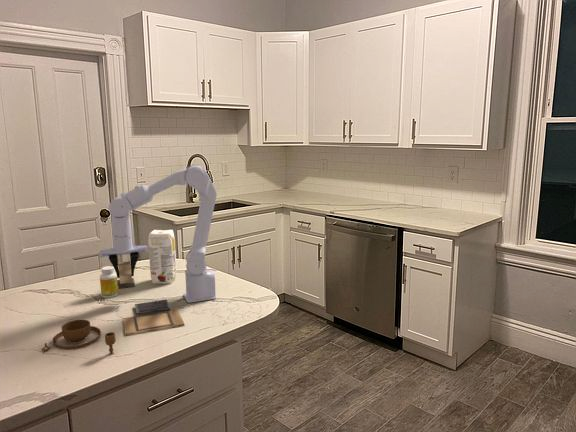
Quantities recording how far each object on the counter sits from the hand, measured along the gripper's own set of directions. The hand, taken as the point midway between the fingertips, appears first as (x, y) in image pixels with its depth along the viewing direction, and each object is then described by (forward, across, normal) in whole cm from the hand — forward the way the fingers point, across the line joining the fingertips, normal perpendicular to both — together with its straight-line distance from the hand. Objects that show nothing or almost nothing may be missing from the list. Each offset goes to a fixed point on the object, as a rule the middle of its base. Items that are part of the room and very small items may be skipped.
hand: (125, 276), depth 143 cm
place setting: (+10, +14, +25) cm, 30 cm away
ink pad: (+9, -7, +8) cm, 14 cm away
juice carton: (+10, -14, -17) cm, 24 cm away
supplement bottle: (+10, +5, -10) cm, 15 cm away
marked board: (+9, -6, +18) cm, 22 cm away
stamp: (+3, 0, 0) cm, 3 cm away
